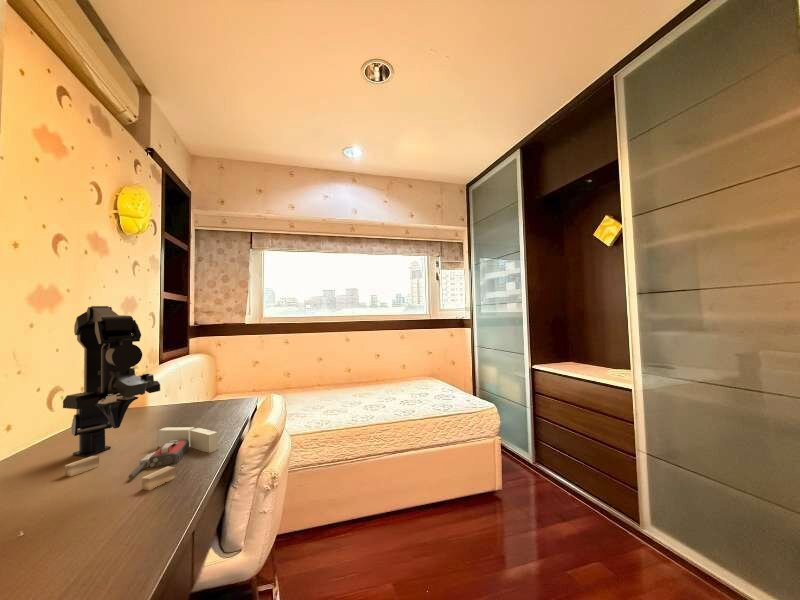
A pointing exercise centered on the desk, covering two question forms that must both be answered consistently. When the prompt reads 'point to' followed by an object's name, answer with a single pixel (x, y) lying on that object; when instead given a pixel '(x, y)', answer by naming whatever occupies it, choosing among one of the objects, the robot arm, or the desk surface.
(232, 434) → the desk surface
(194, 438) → the white long angled block
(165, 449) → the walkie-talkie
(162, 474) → the guide blocks
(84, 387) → the robot arm
